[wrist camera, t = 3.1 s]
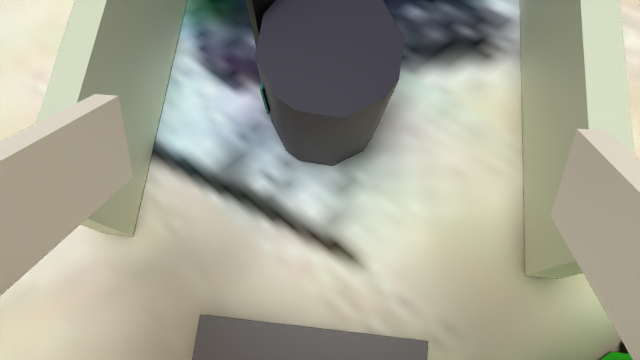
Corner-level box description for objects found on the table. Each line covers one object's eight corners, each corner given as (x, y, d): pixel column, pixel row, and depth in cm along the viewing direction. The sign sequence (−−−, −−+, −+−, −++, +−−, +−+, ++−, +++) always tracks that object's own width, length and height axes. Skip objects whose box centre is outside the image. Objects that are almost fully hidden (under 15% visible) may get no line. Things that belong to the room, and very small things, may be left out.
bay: (557, 278, 22) (644, 259, 15) (106, 233, 24) (11, 200, 18) (544, -51, 28) (603, -169, 21) (178, -60, 30) (127, -168, 23)
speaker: (244, 73, 26) (199, -60, 16) (334, 36, 27) (345, -115, 17) (298, 190, 25) (286, 124, 15) (393, 148, 25) (443, 56, 15)
